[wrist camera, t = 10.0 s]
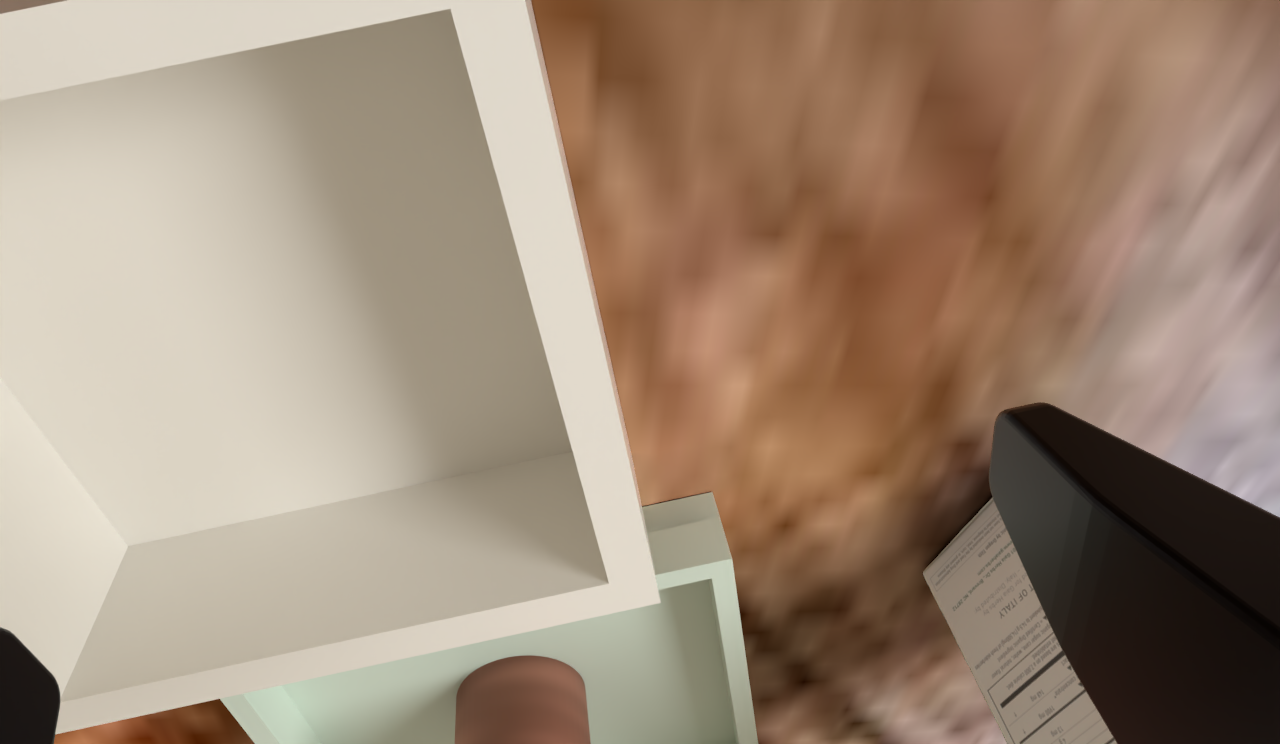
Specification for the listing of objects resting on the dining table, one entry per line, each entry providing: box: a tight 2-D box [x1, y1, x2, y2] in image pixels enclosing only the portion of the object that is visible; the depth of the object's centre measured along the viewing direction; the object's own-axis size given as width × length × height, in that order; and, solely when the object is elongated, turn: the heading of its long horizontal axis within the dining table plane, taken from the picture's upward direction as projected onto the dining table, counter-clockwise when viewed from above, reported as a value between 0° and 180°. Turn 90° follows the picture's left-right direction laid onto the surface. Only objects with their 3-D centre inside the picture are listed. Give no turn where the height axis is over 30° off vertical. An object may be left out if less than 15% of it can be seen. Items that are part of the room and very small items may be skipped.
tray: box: [220, 492, 758, 744], centre depth 27 cm, size 14×12×2 cm
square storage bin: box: [0, 0, 661, 734], centre depth 17 cm, size 14×14×5 cm
